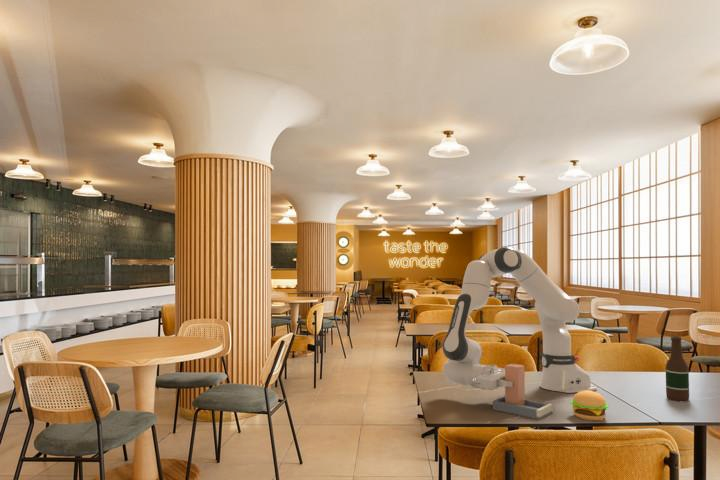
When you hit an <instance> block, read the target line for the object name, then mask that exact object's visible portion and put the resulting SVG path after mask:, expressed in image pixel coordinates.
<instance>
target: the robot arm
mask: <svg viewBox="0 0 720 480" xmlns="http://www.w3.org/2000/svg"><path fill="white" fill-rule="evenodd" d="M507 274H510V275H511V276H512V277H513V278H514V280H515V281H516V282H517V283H518V284H519V286H520V287H521V288H522V289H523V290H524V292H526V294H527V295H528V296H529V297H530V298H532V299H533V300H534V301H535V303H534V309H535V312H536V313H537V315H538V320H539V323H540V328H541V332H542V353H541V354H542V355H541V363H542V371H541V378H540V382H539V387H540V388H542V389H545V390H549V391H554V392H561V393H562V392H563V393H567V394H570V393H571V394H572V393H573V394H574V393H578V392H581V391H585V390H589V391H594V392H596V391H597V390H598V389H597V386H596V385H594V384H592V383H591V378H590V375H589V373H588V372H587V371H585V369H583V368H582V367H580V366H579V365H578V364H577V363H576V362H580V361H581V357H580V356H577V355H573V354H572V336H571V334H570V332H569V330H568V327H567V324H566V323H569V322H573V321H575V320H576V319H578V318H579V316H580V312H581V311H580V306H579V304H578V302H577V301H576V300H575V299H573V298H572V297H571V296H569V295H568V294H567V293H566V292H565V291H564V290H563V289H562V288H561V287H559V286H558V285H557V284H556V283H555V282H554V281H552V279H550V278H549V276H548V275H547V274H546V273H545V271H544V270H543V269H542V268H541V267H540V265H538V263H537V262H536V261H535V260H534V259H533V258H532V257H531V256H530V255H529V254H528V253H526V252H525V251H524V250H522V249H515V248H512V247H508V246H507V247H506V246H504V247H503V246H502V247H500V248H497V249H492V250H491V251H489V252H487V253H485V254H482V255H480V257H479V258H478V259H476V260H472V261H470V262H469V263H468V264H467V267H466V269H465V271H464V276H463V280H462V285H461V291H460V294H459V296H458V297H457V299H456V301H455V305H454V308H453V311H452V315H451V319H450V323H449V327H448V331H447V333H446V334H445V337H444V339H443V341H442V344H441V345H442V346H441V347H442V352H443V354H444V356H445V357H446V358H447V359H448V360H447V361H445V362H444V363H443V368H442V373H443V376H444V378H445V379H446V380H447V381H448V382H450V383H451V384H454V385H455V384H456V385H460V386H464V387H465V386H470V387H471V388H475V389H480V390H484V391H485V390H487V391H488V390H489V391H493V390H495V389H498V388H501V387H502V388H503V387H504V388H505V387H507V386H508V387H513V386H514V382H513V381H505V367H504V368H503V367H498V366H497V365H495V364H491V365H489V364H488V365H487V364H481V360H482V356H483V349H482V346H481V344H480V343H479V342H478V341H475V340H474V339H471V338H469V337H467V336H466V331H467V326H468V322H469V318H470V317H469V316H470V314H471V313H472V312H473V311H474V310H479V309H481V308H483V307H485V305H487V303H488V301H489V298H490V289H491V281H492V279H494V278H499V277H503V276H504V275H507Z"/></svg>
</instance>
